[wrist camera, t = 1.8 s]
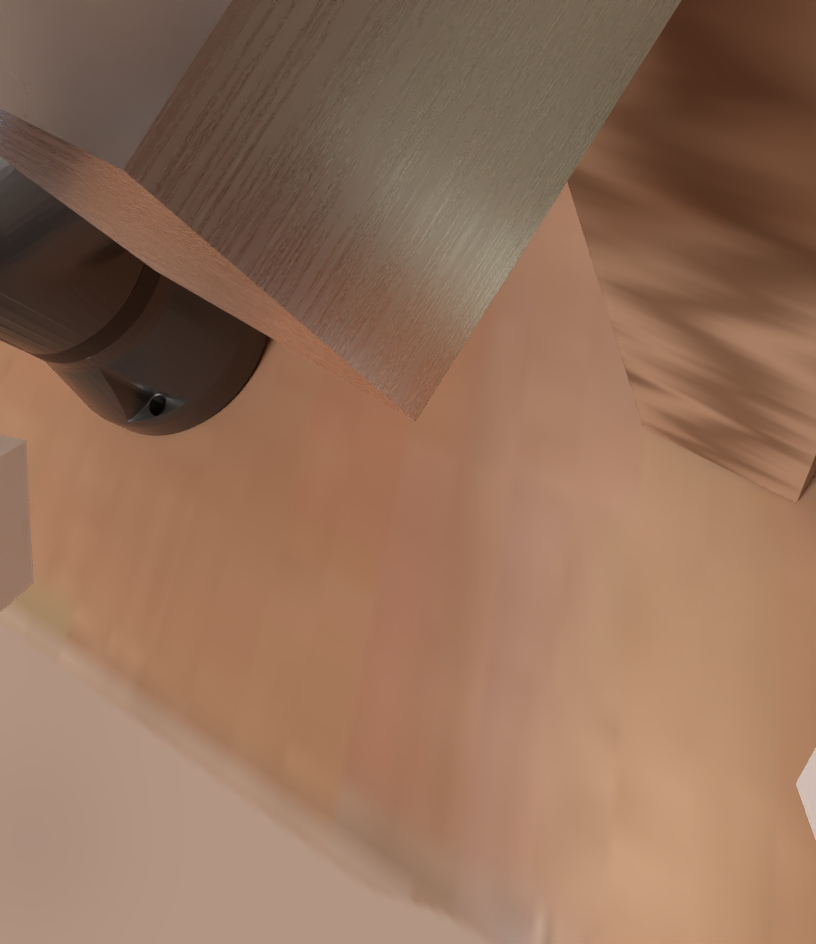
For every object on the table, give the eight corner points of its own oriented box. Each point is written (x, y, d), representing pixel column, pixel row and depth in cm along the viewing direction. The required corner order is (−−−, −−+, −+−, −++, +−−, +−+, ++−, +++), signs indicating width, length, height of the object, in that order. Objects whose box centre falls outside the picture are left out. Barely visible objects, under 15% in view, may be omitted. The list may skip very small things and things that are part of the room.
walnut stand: (643, 427, 40) (362, -479, 9) (755, 247, 40) (867, -1261, 9) (796, 503, 36) (1225, -567, 5) (918, 306, 36) (2030, -1852, 5)
